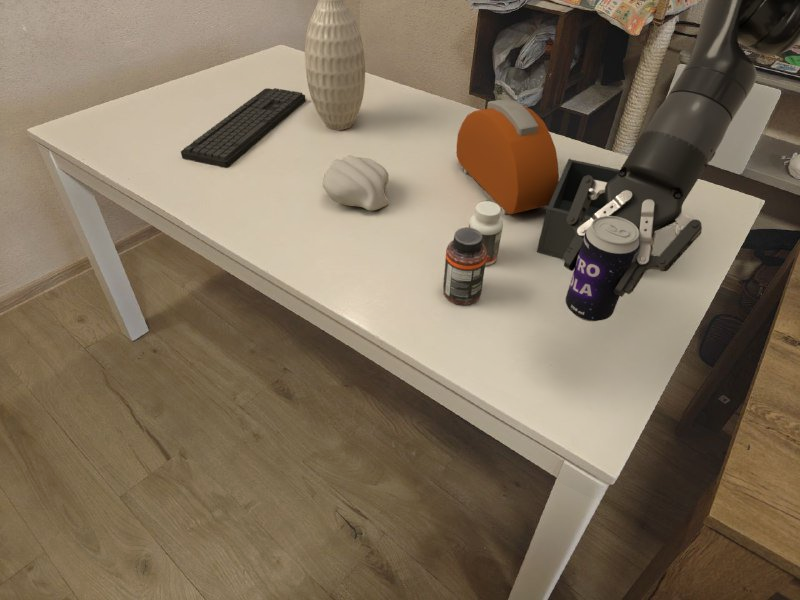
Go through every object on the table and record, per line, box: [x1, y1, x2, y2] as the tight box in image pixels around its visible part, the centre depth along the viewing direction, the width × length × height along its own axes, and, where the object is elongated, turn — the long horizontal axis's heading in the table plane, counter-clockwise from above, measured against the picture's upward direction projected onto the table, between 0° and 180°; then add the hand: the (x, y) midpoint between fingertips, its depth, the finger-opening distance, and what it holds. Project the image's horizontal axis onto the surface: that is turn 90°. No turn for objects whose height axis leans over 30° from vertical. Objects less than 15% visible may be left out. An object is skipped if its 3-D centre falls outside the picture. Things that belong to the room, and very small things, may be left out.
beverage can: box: [565, 216, 640, 322], centre depth 62 cm, size 6×6×12 cm
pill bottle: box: [468, 200, 504, 267], centre depth 88 cm, size 5×5×10 cm
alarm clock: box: [456, 98, 560, 215], centre depth 101 cm, size 23×9×17 cm, turn 22°
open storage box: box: [536, 158, 639, 262], centre depth 93 cm, size 16×18×9 cm
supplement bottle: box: [442, 227, 487, 306], centre depth 81 cm, size 6×6×11 cm
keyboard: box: [180, 87, 307, 169], centre depth 124 cm, size 35×11×2 cm, turn 160°
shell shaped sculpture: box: [322, 154, 390, 212], centre depth 102 cm, size 13×13×6 cm
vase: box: [304, 0, 366, 131], centre depth 117 cm, size 13×13×28 cm
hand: (592, 280), depth 61 cm, fingers closed on beverage can, 5 cm apart
